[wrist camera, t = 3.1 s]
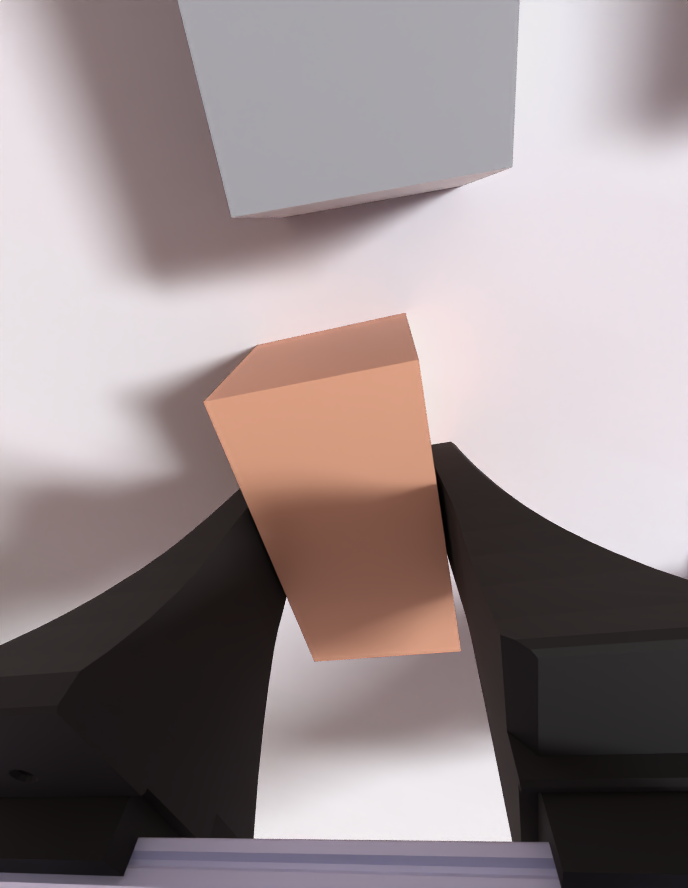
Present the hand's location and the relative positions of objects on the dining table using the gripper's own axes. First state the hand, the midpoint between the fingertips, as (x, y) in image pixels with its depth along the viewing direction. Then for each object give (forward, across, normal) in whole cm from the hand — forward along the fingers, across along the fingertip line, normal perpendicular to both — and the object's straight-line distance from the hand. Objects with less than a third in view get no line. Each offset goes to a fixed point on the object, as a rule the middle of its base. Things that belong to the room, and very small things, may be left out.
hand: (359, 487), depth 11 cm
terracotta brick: (+2, 0, 0) cm, 2 cm away
